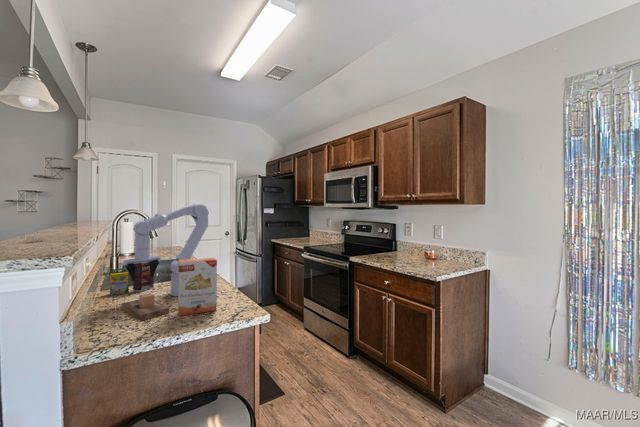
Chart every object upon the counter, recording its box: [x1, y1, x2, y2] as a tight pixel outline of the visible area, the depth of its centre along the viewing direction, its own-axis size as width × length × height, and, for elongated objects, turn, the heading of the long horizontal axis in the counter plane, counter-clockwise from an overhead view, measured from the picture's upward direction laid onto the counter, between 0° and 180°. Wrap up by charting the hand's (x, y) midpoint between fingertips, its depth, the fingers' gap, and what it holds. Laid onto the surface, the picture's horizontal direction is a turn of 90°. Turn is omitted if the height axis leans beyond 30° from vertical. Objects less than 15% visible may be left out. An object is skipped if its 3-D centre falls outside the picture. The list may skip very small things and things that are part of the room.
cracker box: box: [177, 257, 218, 317], centre depth 119 cm, size 14×6×21 cm, turn 117°
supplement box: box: [132, 261, 155, 293], centre depth 149 cm, size 9×5×16 cm, turn 168°
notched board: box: [120, 299, 170, 321], centre depth 120 cm, size 10×20×2 cm, turn 52°
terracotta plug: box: [138, 292, 155, 309], centre depth 121 cm, size 4×4×6 cm
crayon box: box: [109, 267, 130, 296], centre depth 142 cm, size 7×3×12 cm, turn 126°
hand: (142, 278), depth 133 cm, fingers open, 7 cm apart
